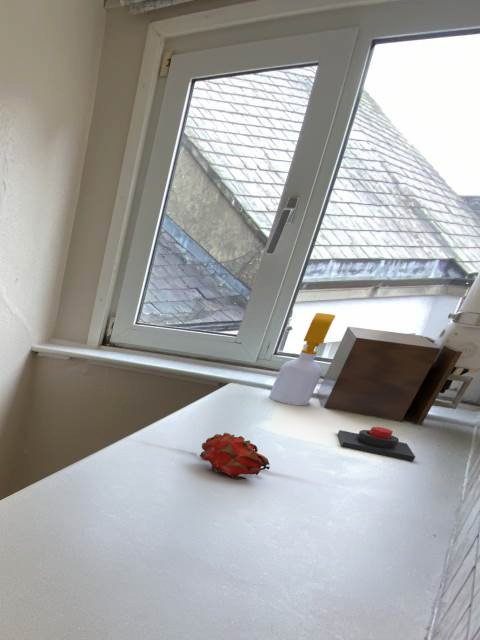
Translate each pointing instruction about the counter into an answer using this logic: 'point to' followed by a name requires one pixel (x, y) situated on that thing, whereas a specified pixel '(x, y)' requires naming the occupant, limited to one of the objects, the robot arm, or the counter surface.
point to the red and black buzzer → (375, 445)
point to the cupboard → (377, 372)
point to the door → (437, 386)
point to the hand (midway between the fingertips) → (437, 391)
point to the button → (381, 432)
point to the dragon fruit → (233, 455)
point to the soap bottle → (302, 367)
